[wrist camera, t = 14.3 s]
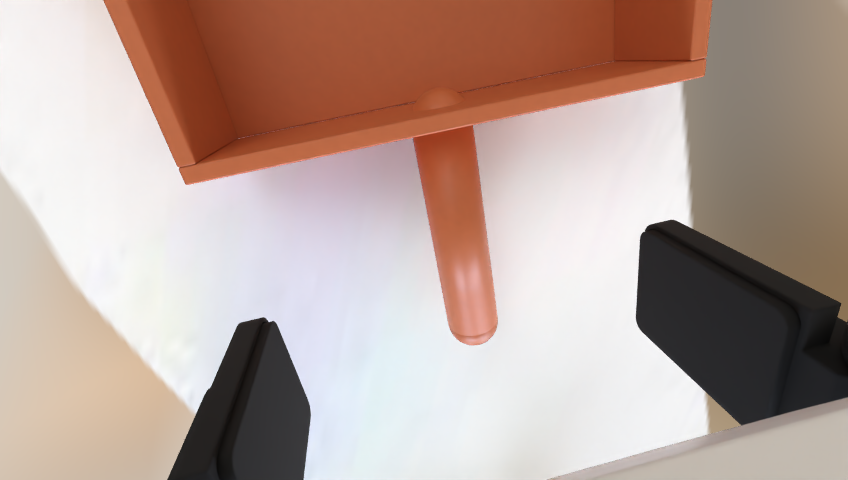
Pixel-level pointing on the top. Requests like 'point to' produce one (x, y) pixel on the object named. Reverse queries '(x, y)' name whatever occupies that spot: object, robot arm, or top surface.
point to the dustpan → (394, 89)
